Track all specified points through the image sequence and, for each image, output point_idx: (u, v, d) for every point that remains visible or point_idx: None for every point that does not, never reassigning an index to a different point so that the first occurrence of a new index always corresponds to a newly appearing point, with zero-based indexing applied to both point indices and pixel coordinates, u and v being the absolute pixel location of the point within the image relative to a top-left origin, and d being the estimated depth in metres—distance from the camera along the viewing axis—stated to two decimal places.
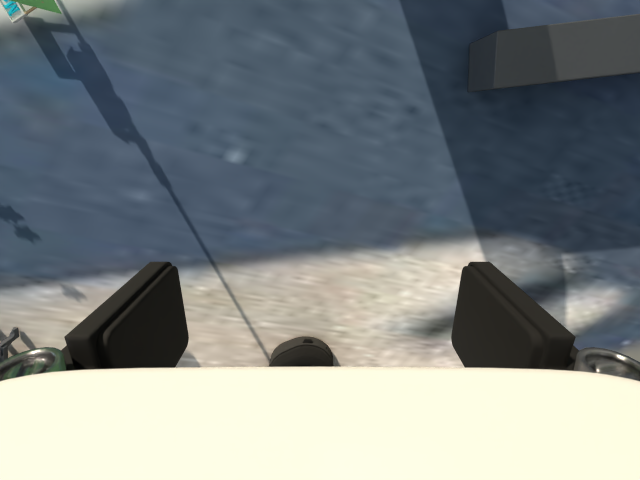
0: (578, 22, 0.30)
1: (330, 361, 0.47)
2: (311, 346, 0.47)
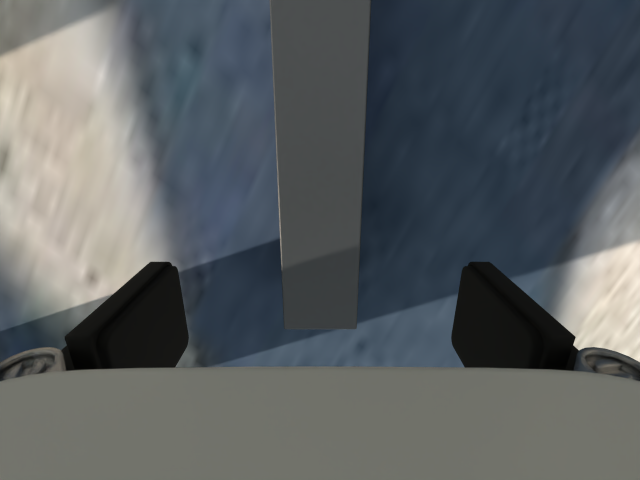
0: (281, 226, 0.20)
1: None
2: None
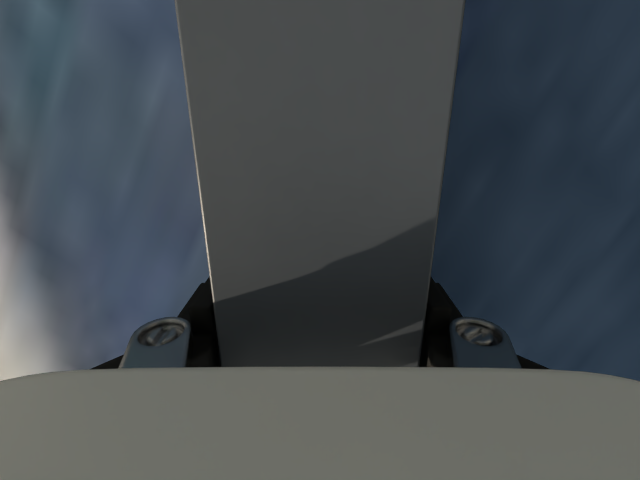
0: None
1: None
2: None
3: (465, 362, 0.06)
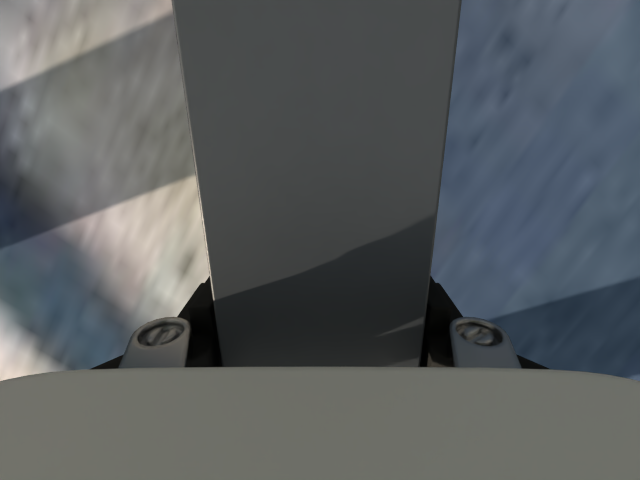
0: None
1: None
2: None
3: (465, 362, 0.06)
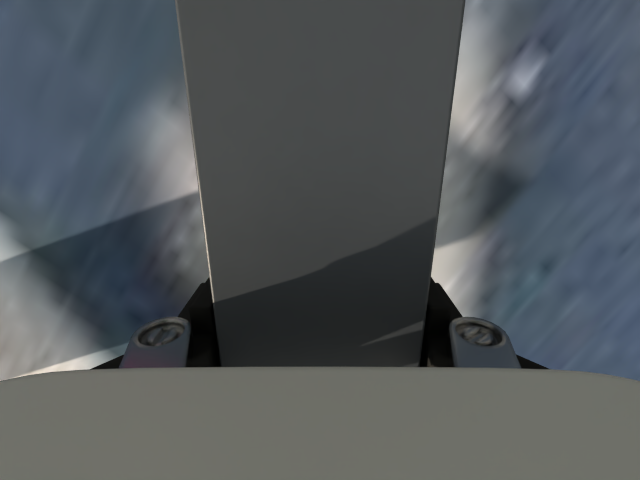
0: None
1: None
2: None
3: (464, 362, 0.06)
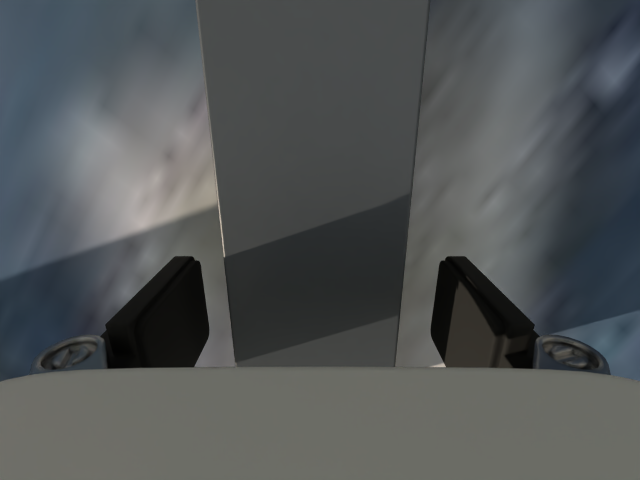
0: (236, 351, 0.10)
1: None
2: None
3: None
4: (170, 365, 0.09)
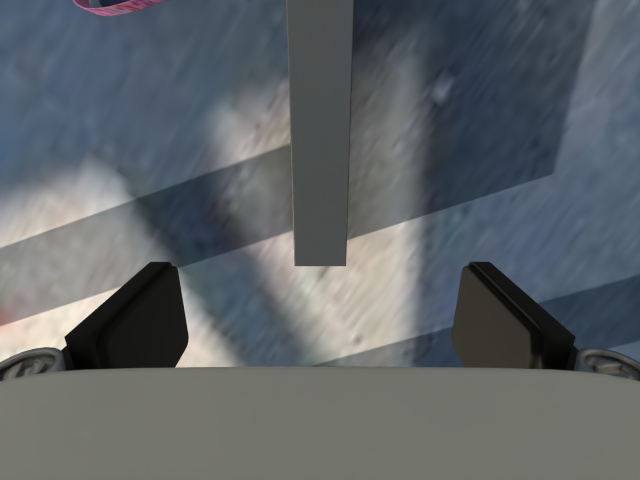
0: (293, 190, 0.28)
1: None
2: None
3: None
4: None
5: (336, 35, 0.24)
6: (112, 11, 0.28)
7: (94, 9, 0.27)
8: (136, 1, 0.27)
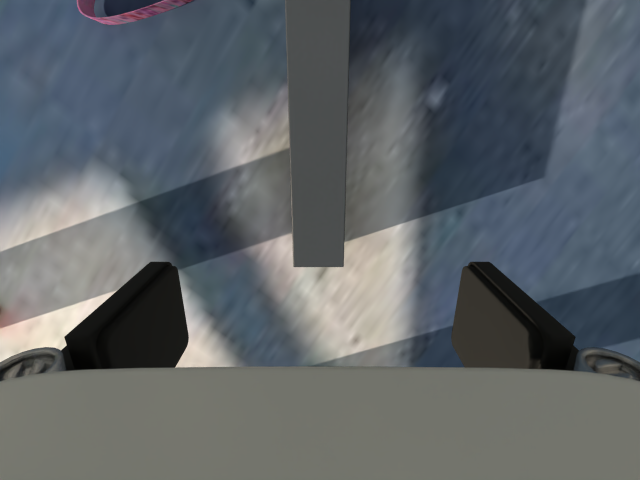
0: (292, 192, 0.29)
1: None
2: None
3: None
4: None
5: (333, 44, 0.25)
6: (117, 20, 0.29)
7: (99, 18, 0.28)
8: (140, 10, 0.28)
